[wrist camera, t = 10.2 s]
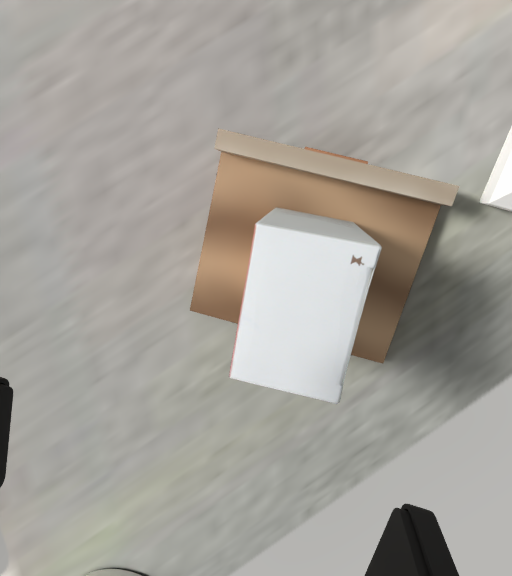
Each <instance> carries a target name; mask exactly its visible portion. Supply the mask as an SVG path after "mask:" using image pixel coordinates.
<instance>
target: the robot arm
mask: <svg viewBox="0 0 512 576" xmlns="http://www.w3.org/2000/svg"><path fill="white" fill-rule="evenodd" d="M12 401H13V389H12V388H11V387H9V382H8V380H7V379H5V378H2V377H0V487H1V486H2V484H3V482H4V479H5V474H6V463H7V453H8V442H9V432H10V422H11V411H12ZM85 576H142V575H139V574H137V573H134V572H131V571H126V570H121V569H103V570H97V571H94V572H91V573H88V574H86V575H85ZM365 576H459V574H458V572H457V570H456V567H455V564H454V562H453V559H452V557H451V554H450V552H449V550H448V547H447V544H446V542H445V539H444V537H443V534H442V532H441V529H440V527H439V525H438V522H437V520H436V517H435V515H434V513H433V512H431V511H429V510H426V509H423V508H420V507H416V506H413V505H410V504H404V505H403V506H402V508H401V509H399V508H395V509H394V510H393V512H392V514H391V516H390V518H389V521H388V523H387V526H386V528H385V530H384V532H383V535H382V537H381V539H380V542H379V544H378V546H377V548H376V551H375V553H374V555H373V558H372V560H371V562H370V564H369V567H368V569H367V572H366V574H365Z"/></svg>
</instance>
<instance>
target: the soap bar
mask: <svg viewBox="0 0 512 576" xmlns="http://www.w3.org/2000/svg"><path fill="white" fill-rule="evenodd" d="M479 203H482V204H486V205H489V206H493V207H497V208H500V209H504V210H507V211H511V212H512V127H511V129H510V131H509V134H508V136H507V138H506V141H505V143H504V145H503V148H502V150H501V152H500V155H499V157H498V159H497V162H496V164H495V166H494V169H493V171H492V173H491V176H490V178H489V181H488V183H487V185H486V188H485V190H484V192H483V195H482V197H481V199H480V202H479Z"/></svg>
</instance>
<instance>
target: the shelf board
mask: <svg viewBox="0 0 512 576" xmlns="http://www.w3.org/2000/svg"><path fill="white" fill-rule="evenodd" d="M215 149H217V150H219V151H221V156H220V161H219V166H218V172H217V177H216V182H215V187H214V192H213V197H212V202H211V207H210V212H209V217H208V222H207V227H206V232H205V237H204V242H203V247H202V252H201V257H200V262H199V267H198V272H197V277H196V282H195V287H194V292H193V297H192V302H191V307H190V311H194V312H197V313H201V314H205V315H208V316H212V317H216V318H219V319H223V320H227V321H230V322H234V323H237V324H238V321H239V315H240V310H241V304H242V298H243V292H244V286H245V280H246V275H247V269H248V263H249V258H250V252H251V246H252V240H253V234H254V228H255V224H256V223H257V222H258V221H259V220H261V219H262V218H263V217H264V216H266V215H267V214H268V213H270V212H271V211H272V210H273V209H275V208H283V209H288V210H293V211H298V212H303V213H309V214H314V215H319V216H324V217H329V218H334V219H340V220H345V221H350V222H354V223H355V224H356V225H357V226H358V227H360V228H361V229H362V230H363V231H364V232H365V233H367V234H368V235H369V236H370V237H372V238H373V239H374V240H375V241H376V242H377V243H379V244H380V245H381V247H382V249H381V252H380V255H379V258H378V261H377V264H376V267H375V270H374V273H373V276H372V280H371V283H370V286H369V290H368V293H367V297H366V300H365V304H364V308H363V311H362V315H361V318H360V322H359V325H358V329H357V333H356V337H355V341H354V345H353V348H352V352H351V355H354V356H357V357H361V358H365V359H368V360H372V361H376V362H379V363H383V362H384V360H385V357H386V354H387V352H388V349H389V346H390V343H391V341H392V338H393V335H394V332H395V330H396V327H397V324H398V321H399V319H400V316H401V313H402V310H403V308H404V305H405V302H406V300H407V297H408V294H409V291H410V289H411V286H412V283H413V280H414V278H415V275H416V272H417V269H418V267H419V264H420V261H421V258H422V256H423V253H424V250H425V248H426V245H427V242H428V239H429V237H430V234H431V231H432V228H433V226H434V223H435V220H436V217H437V215H438V212H439V209H440V206H441V205H446V206H452V205H453V202H454V199H455V197H456V194H457V191H458V189H459V186H456V185H452V184H448V183H444V182H440V181H435V180H431V179H427V178H423V177H419V176H415V175H410V174H406V173H402V172H398V171H394V170H389V169H385V168H381V167H377V166H373V165H369V164H368V162H367V161H363V160H359V159H354V158H350V157H346V156H342V155H338V154H333V153H329V152H325V151H321V150H317V149H313V148H308V147H305V149H302V148H298V147H293V146H289V145H285V144H281V143H277V142H272V141H268V140H264V139H260V138H256V137H252V136H247V135H243V134H239V133H235V132H231V131H226V130H222V129H218V133H217V138H216V143H215Z"/></svg>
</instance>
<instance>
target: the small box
mask: <svg viewBox="0 0 512 576" xmlns="http://www.w3.org/2000/svg"><path fill="white" fill-rule="evenodd" d="M381 249H382V247H381V245H380V244H379V243H377V242H376V241H375V240H374V239H373V238H372V237H370V236H369V235H368V234H367V233H365V232H364V231H363V230H362V229H361V228H360V227H358V226H357V225H356V224H355V223H354V222H350V221H345V220H340V219H334V218H329V217H324V216H319V215H314V214H309V213H303V212H298V211H293V210H288V209H283V208H275V209H273V210H272V211H271V212H270V213H268V214H267V215H266V216H264V217H263V218H262V219H261V220H259V221H258V222H257V223H256V224H255V228H254V234H253V240H252V246H251V252H250V258H249V263H248V269H247V275H246V280H245V286H244V292H243V298H242V304H241V310H240V315H239V321H238V327H237V333H236V339H235V345H234V350H233V356H232V362H231V368H230V374H229V378H231V379H236V380H240V381H244V382H248V383H252V384H256V385H260V386H265V387H269V388H273V389H277V390H281V391H285V392H289V393H294V394H298V395H302V396H306V397H310V398H314V399H318V400H322V401H326V402H330V403H334V404H337V403H339V402H340V399H341V393H342V389H343V384H344V379H345V375H346V371H347V367H348V363H349V359H350V356H351V352H352V348H353V345H354V341H355V337H356V333H357V329H358V325H359V322H360V318H361V315H362V311H363V308H364V304H365V300H366V297H367V293H368V290H369V286H370V283H371V280H372V276H373V273H374V270H375V267H376V264H377V261H378V258H379V255H380V252H381Z"/></svg>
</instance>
